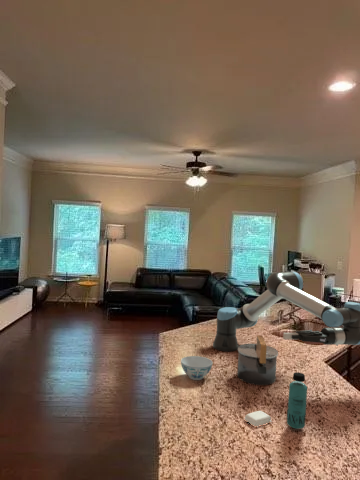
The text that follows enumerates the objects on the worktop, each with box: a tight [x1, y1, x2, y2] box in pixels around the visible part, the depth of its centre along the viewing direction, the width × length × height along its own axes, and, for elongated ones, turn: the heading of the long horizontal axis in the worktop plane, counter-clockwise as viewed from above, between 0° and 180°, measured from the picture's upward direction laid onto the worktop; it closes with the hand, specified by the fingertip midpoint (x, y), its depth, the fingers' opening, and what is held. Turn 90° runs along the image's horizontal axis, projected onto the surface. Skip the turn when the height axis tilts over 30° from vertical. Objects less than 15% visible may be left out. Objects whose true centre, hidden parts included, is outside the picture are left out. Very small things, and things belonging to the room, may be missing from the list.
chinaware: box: [180, 355, 213, 381], centre depth 181 cm, size 15×15×8 cm
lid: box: [237, 334, 279, 364], centre depth 179 cm, size 28×19×9 cm, turn 175°
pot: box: [237, 352, 278, 386], centre depth 181 cm, size 32×18×12 cm, turn 175°
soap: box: [243, 410, 273, 426], centre depth 142 cm, size 9×7×3 cm
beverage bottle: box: [286, 372, 308, 430], centre depth 137 cm, size 6×7×20 cm
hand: (284, 336), depth 172 cm, fingers closed
